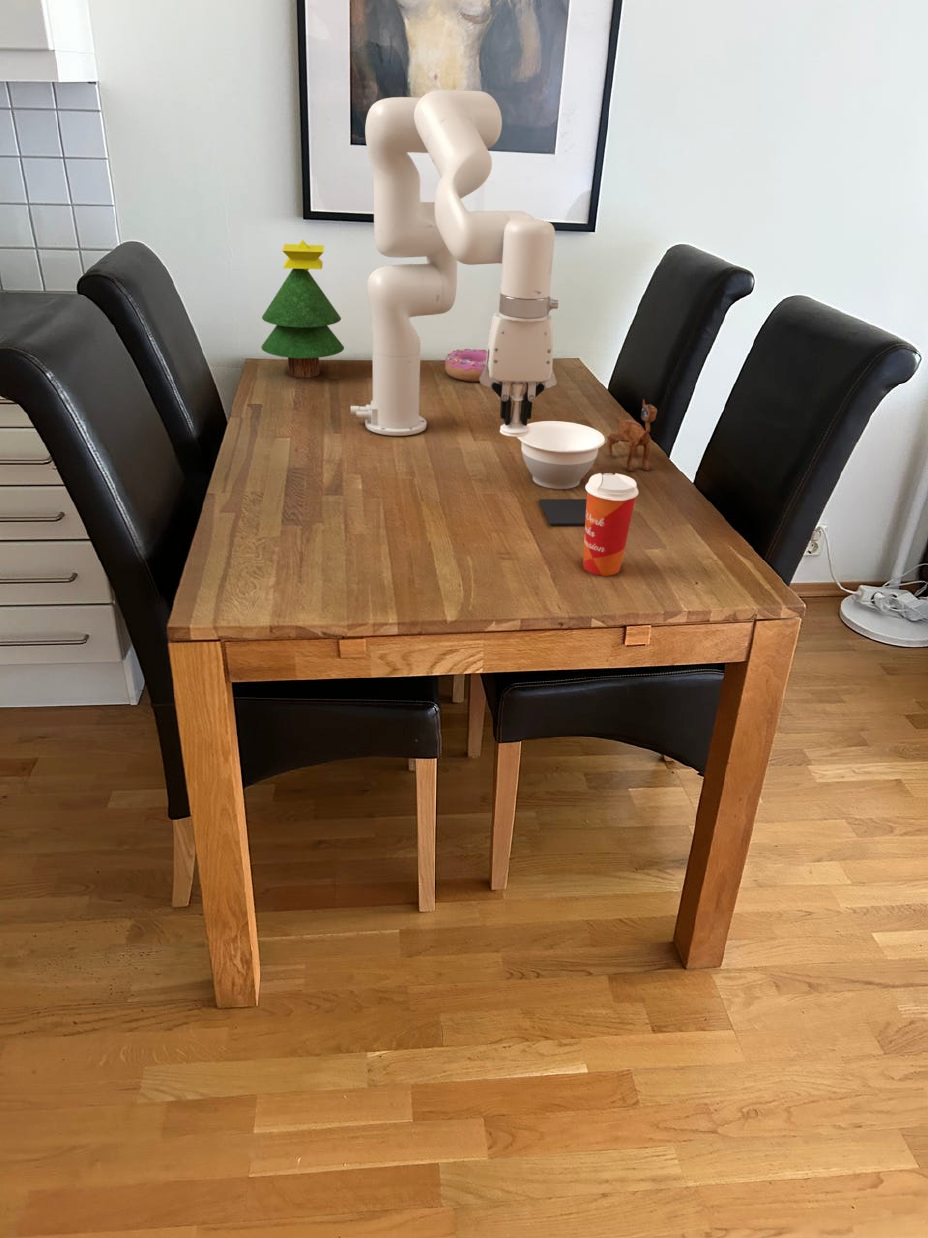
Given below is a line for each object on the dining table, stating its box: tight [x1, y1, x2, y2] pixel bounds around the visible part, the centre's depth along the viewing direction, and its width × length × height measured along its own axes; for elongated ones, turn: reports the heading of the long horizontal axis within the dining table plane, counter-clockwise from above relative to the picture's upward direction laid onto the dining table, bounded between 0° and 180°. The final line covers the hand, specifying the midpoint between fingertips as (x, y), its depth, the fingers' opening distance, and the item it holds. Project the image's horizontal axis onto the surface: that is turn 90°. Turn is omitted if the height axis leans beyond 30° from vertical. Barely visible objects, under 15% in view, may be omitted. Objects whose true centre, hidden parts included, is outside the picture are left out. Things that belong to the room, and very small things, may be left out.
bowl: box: [517, 420, 606, 490], centre depth 170 cm, size 16×16×8 cm
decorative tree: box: [261, 239, 345, 378], centre depth 216 cm, size 19×19×30 cm
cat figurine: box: [606, 398, 658, 472], centre depth 180 cm, size 18×7×14 cm, turn 15°
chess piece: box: [499, 382, 530, 438], centre depth 151 cm, size 5×5×10 cm
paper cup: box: [582, 472, 639, 577], centre depth 138 cm, size 8×8×14 cm
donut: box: [444, 348, 487, 383], centre depth 227 cm, size 14×14×5 cm
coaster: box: [539, 498, 587, 527], centre depth 159 cm, size 10×10×1 cm
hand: (514, 421), depth 153 cm, fingers closed on chess piece
